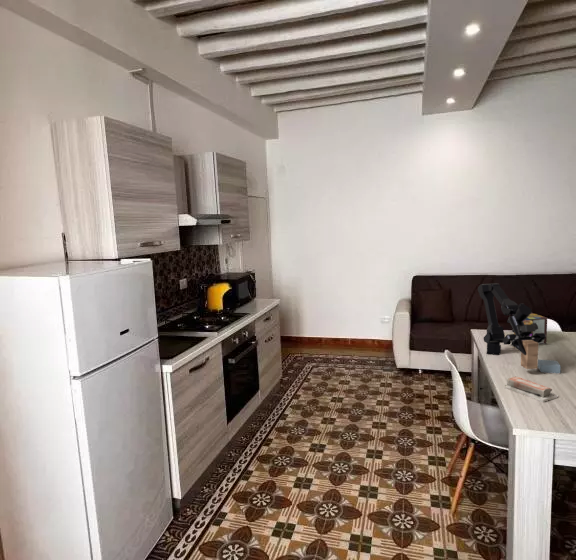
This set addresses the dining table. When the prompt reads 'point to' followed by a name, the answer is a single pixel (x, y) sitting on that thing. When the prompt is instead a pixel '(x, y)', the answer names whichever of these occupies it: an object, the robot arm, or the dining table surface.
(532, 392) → the packaged product
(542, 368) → the slate base block
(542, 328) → the protein box
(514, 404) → the dining table surface
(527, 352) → the walnut block
